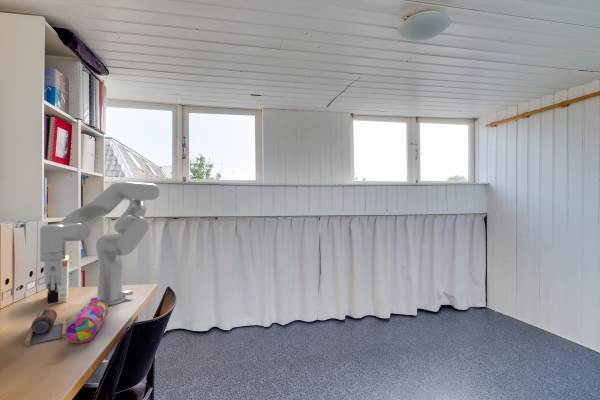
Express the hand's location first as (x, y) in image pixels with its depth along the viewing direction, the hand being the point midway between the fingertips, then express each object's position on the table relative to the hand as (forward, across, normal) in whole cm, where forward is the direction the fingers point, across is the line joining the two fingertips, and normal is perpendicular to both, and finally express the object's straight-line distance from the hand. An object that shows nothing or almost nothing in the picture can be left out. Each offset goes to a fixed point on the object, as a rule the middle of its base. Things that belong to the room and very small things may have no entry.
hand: (52, 302), depth 112 cm
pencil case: (+7, -20, -10) cm, 24 cm away
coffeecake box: (+7, +29, -1) cm, 30 cm away
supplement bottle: (+3, -5, +2) cm, 6 cm away
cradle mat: (+7, -14, +1) cm, 16 cm away
